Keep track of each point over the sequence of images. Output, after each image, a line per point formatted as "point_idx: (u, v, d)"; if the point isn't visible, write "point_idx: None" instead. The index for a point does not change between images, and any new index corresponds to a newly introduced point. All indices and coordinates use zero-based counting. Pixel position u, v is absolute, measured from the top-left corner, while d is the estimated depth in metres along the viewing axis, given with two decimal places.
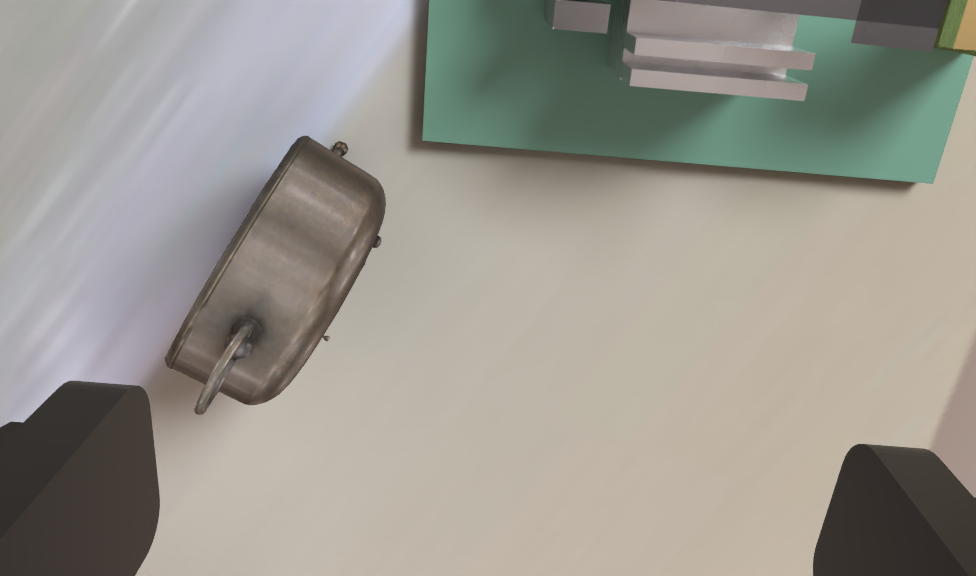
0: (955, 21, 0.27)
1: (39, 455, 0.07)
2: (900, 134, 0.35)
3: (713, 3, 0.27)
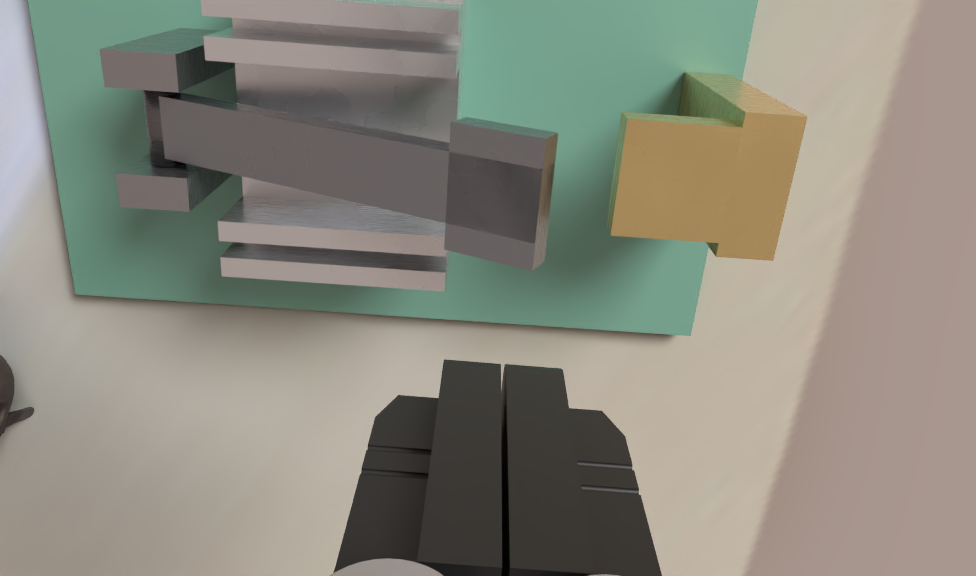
0: (613, 201, 0.21)
1: (475, 420, 0.08)
2: (643, 282, 0.29)
3: (294, 185, 0.21)
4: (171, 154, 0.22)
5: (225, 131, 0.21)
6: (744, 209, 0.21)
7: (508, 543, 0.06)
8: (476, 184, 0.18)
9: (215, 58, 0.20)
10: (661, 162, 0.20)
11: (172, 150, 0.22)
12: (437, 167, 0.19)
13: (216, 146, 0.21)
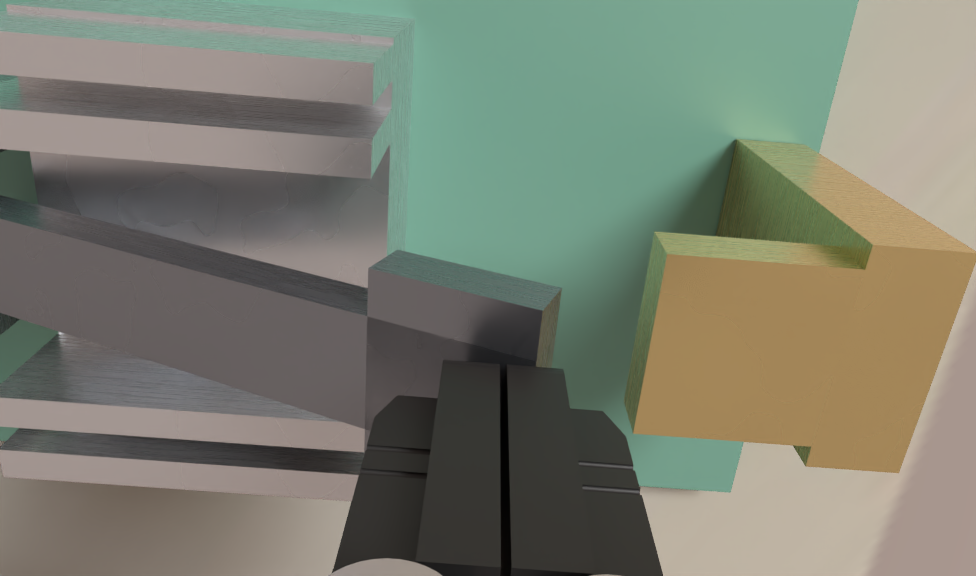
0: (638, 376, 0.13)
1: (474, 420, 0.08)
2: None
3: (114, 346, 0.12)
4: None
5: None
6: (858, 396, 0.12)
7: (509, 543, 0.06)
8: (416, 374, 0.10)
9: None
10: (722, 323, 0.12)
11: None
12: (349, 341, 0.11)
13: None
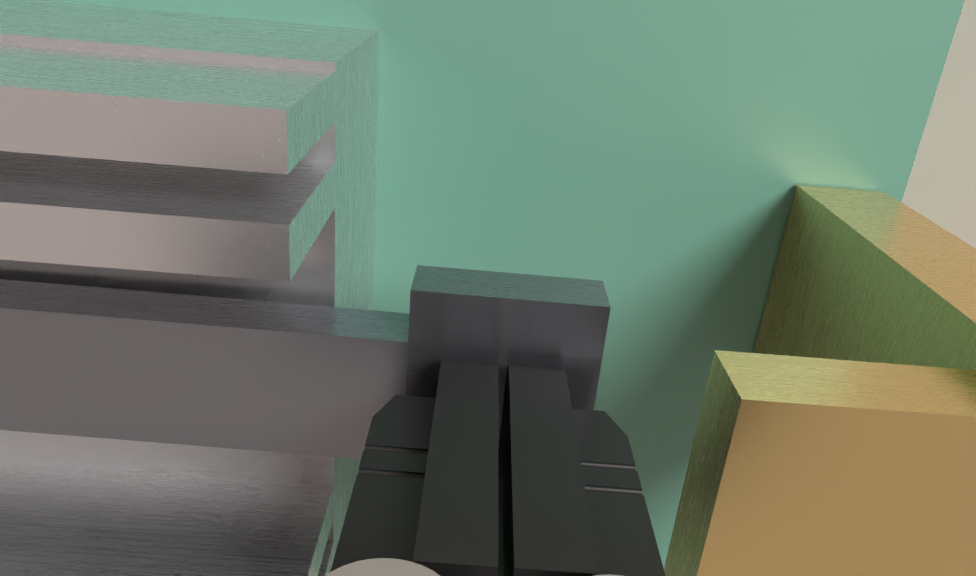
0: (688, 556, 0.09)
1: (472, 420, 0.08)
2: None
3: (50, 429, 0.10)
4: None
5: None
6: None
7: (512, 542, 0.06)
8: None
9: None
10: (820, 494, 0.08)
11: None
12: (384, 371, 0.10)
13: None
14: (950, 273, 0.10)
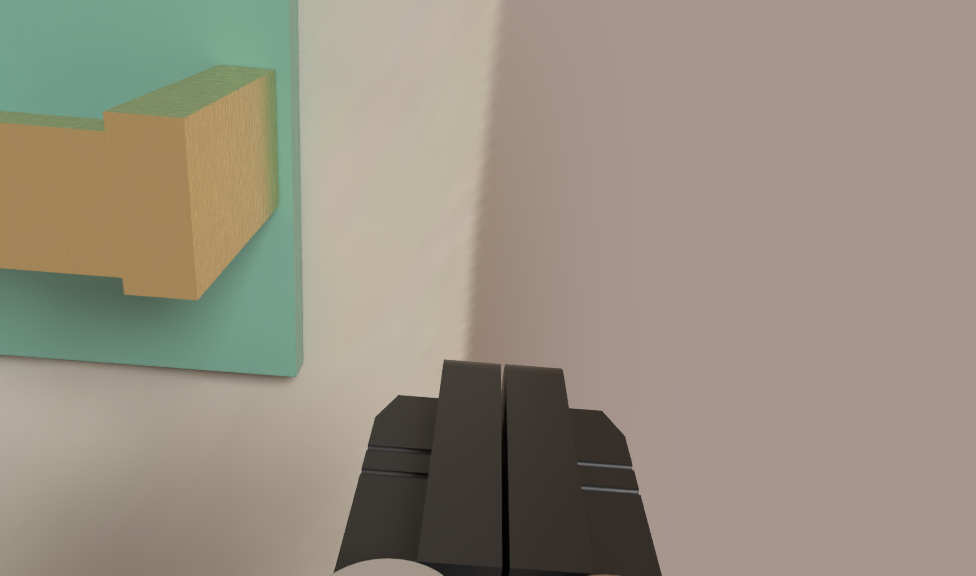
0: None
1: (475, 420, 0.08)
2: (227, 314, 0.25)
3: None
4: None
5: None
6: (141, 235, 0.16)
7: (508, 543, 0.06)
8: None
9: None
10: (16, 175, 0.16)
11: None
12: None
13: None
14: (187, 89, 0.18)
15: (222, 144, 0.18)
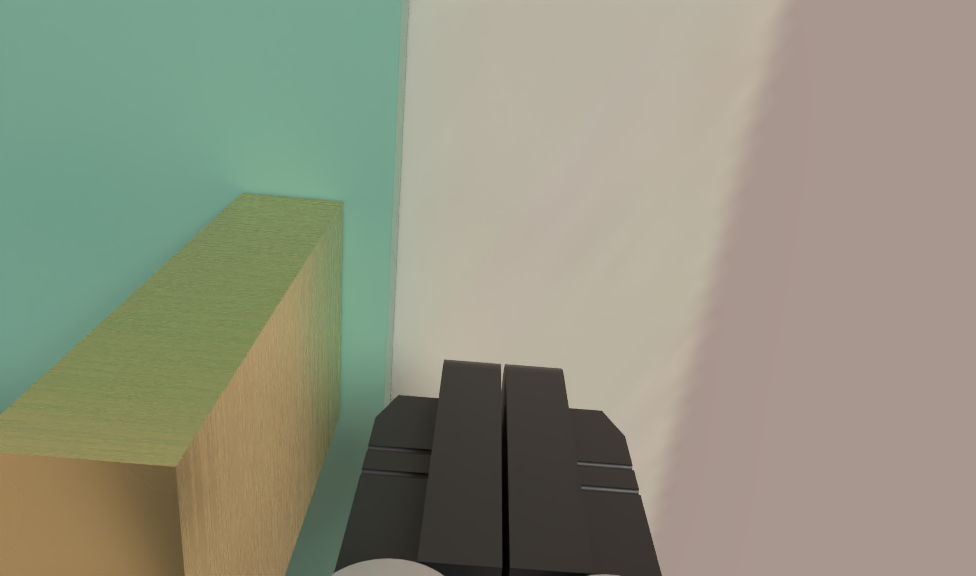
0: None
1: (475, 420, 0.08)
2: None
3: None
4: None
5: None
6: None
7: (508, 543, 0.06)
8: None
9: None
10: None
11: None
12: None
13: None
14: (186, 298, 0.09)
15: (260, 424, 0.08)
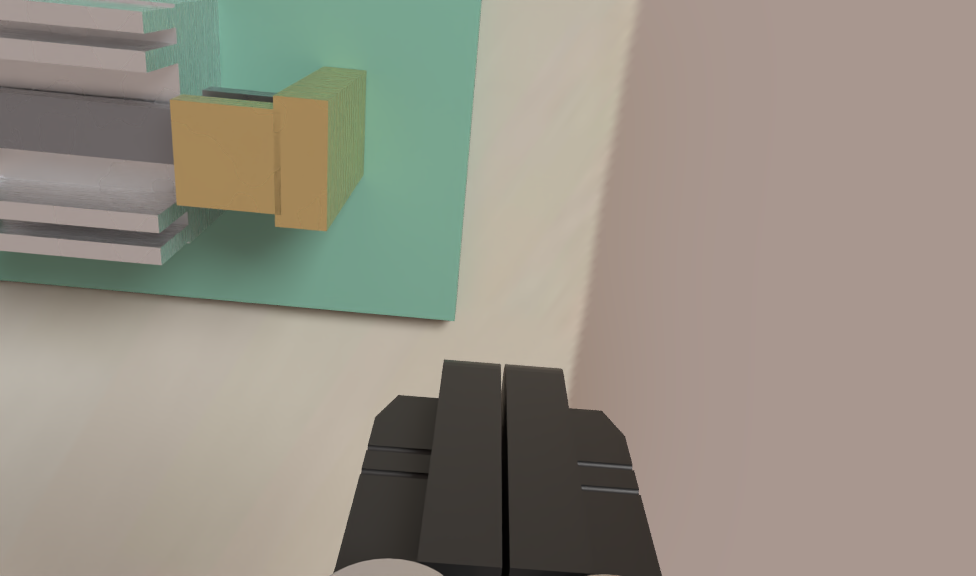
0: None
1: (475, 420, 0.08)
2: (405, 269, 0.32)
3: (64, 151, 0.25)
4: None
5: None
6: (290, 183, 0.23)
7: (508, 542, 0.06)
8: None
9: None
10: (208, 139, 0.23)
11: None
12: None
13: None
14: (315, 83, 0.25)
15: (341, 122, 0.25)
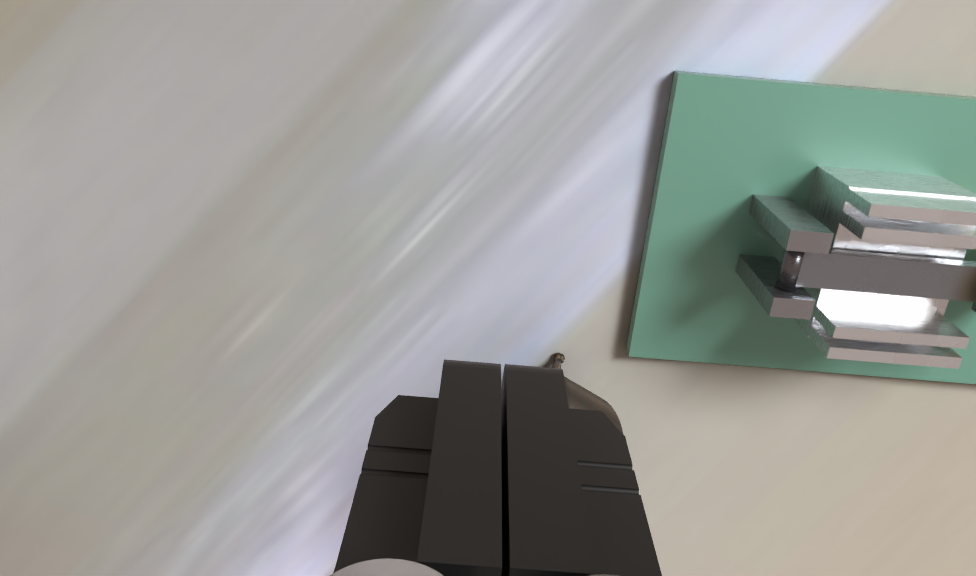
0: None
1: (475, 420, 0.08)
2: None
3: (892, 293, 0.37)
4: (802, 283, 0.37)
5: (850, 268, 0.37)
6: None
7: (508, 543, 0.06)
8: None
9: (867, 238, 0.35)
10: None
11: (804, 281, 0.37)
12: None
13: (840, 276, 0.37)
14: None
15: None
